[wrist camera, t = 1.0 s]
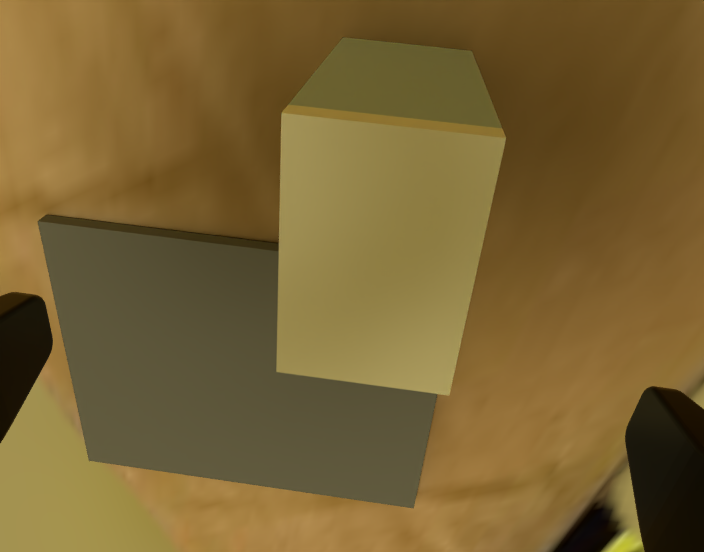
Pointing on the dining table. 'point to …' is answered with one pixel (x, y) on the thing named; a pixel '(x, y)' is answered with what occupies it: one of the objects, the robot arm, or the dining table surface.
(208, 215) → the dining table surface
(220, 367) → the mat
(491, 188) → the pale green block
